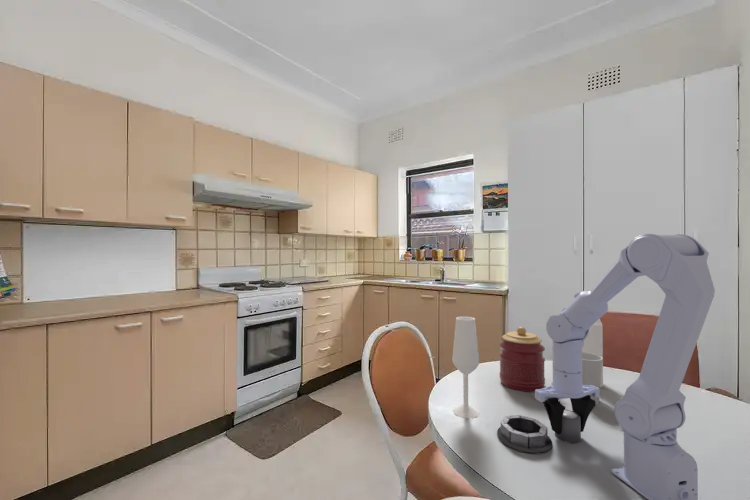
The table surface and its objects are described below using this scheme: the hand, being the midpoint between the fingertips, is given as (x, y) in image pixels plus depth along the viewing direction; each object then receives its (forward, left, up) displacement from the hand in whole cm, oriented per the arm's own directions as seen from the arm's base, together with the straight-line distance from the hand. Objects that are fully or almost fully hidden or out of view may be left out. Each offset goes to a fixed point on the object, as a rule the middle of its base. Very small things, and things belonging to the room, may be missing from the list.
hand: (567, 430), depth 74 cm
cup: (+16, -19, -2) cm, 25 cm away
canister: (+29, -8, -2) cm, 30 cm away
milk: (+26, -29, -2) cm, 39 cm away
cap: (0, 0, -1) cm, 1 cm away
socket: (+1, +10, -1) cm, 10 cm away
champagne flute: (+15, +17, -2) cm, 23 cm away
